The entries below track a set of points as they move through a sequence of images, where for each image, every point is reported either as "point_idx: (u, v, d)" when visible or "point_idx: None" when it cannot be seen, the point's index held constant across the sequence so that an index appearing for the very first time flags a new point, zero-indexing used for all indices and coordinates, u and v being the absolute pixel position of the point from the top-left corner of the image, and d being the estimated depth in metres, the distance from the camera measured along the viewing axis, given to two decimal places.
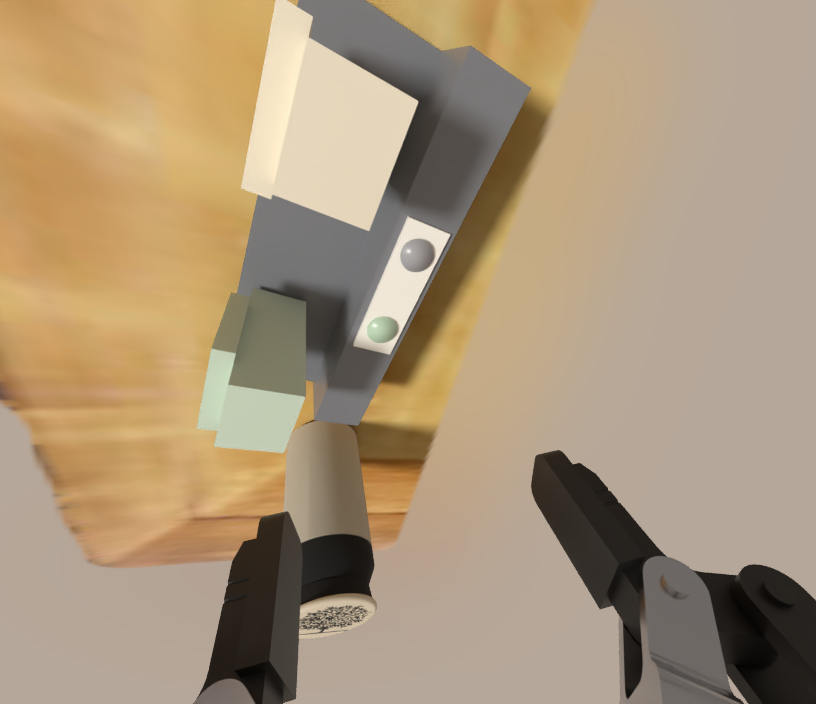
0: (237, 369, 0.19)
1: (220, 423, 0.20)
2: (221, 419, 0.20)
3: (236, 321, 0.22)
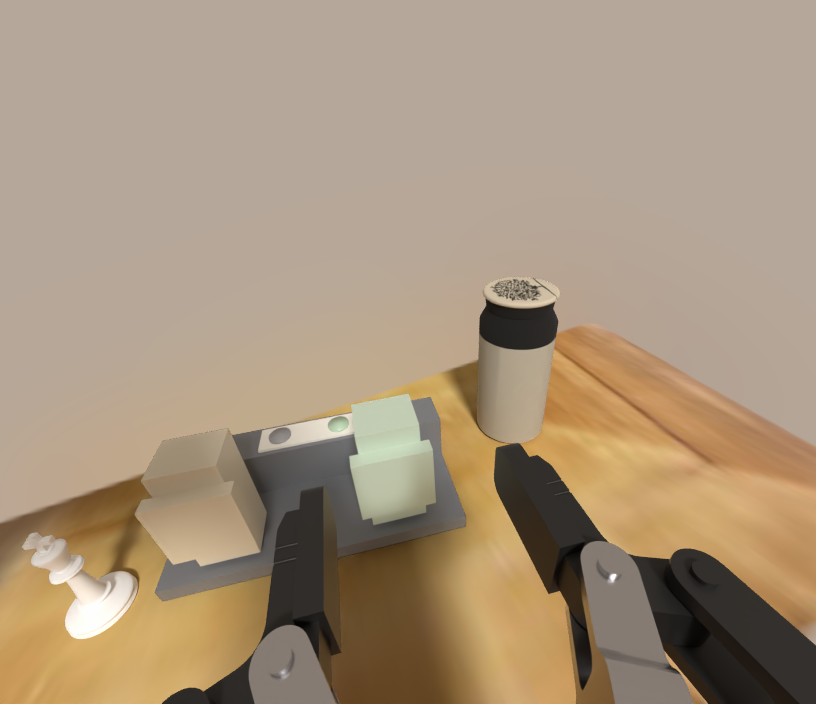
0: (357, 447, 0.28)
1: (393, 429, 0.27)
2: (388, 429, 0.27)
3: None
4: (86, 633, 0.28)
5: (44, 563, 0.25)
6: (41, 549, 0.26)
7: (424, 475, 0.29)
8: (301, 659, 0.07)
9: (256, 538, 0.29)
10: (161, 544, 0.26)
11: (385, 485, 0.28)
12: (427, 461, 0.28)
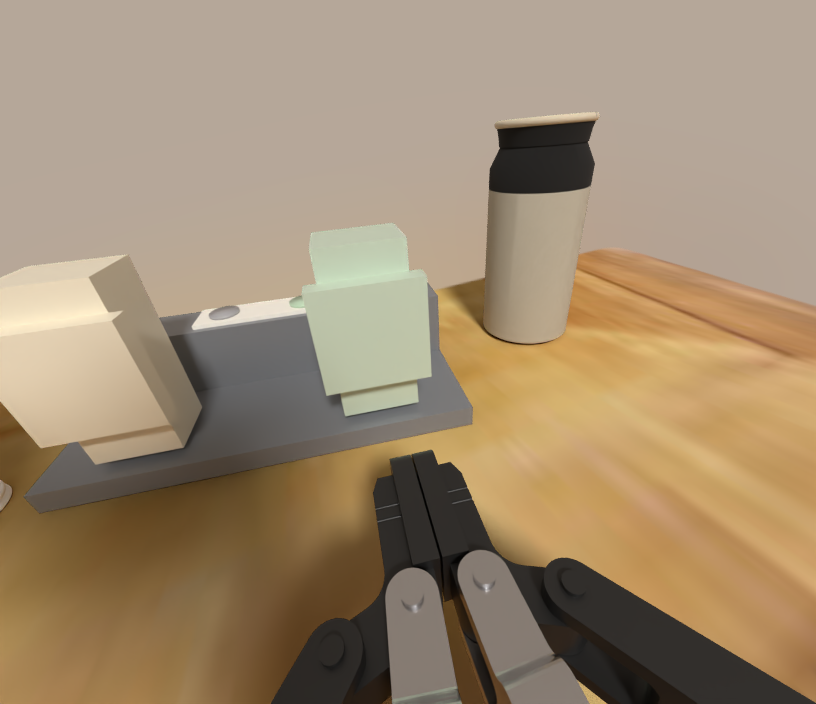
0: (314, 273, 0.19)
1: (367, 241, 0.18)
2: (361, 242, 0.18)
3: None
4: None
5: None
6: None
7: (415, 322, 0.20)
8: (432, 596, 0.08)
9: (169, 415, 0.20)
10: (13, 408, 0.17)
11: (357, 335, 0.19)
12: (419, 297, 0.19)
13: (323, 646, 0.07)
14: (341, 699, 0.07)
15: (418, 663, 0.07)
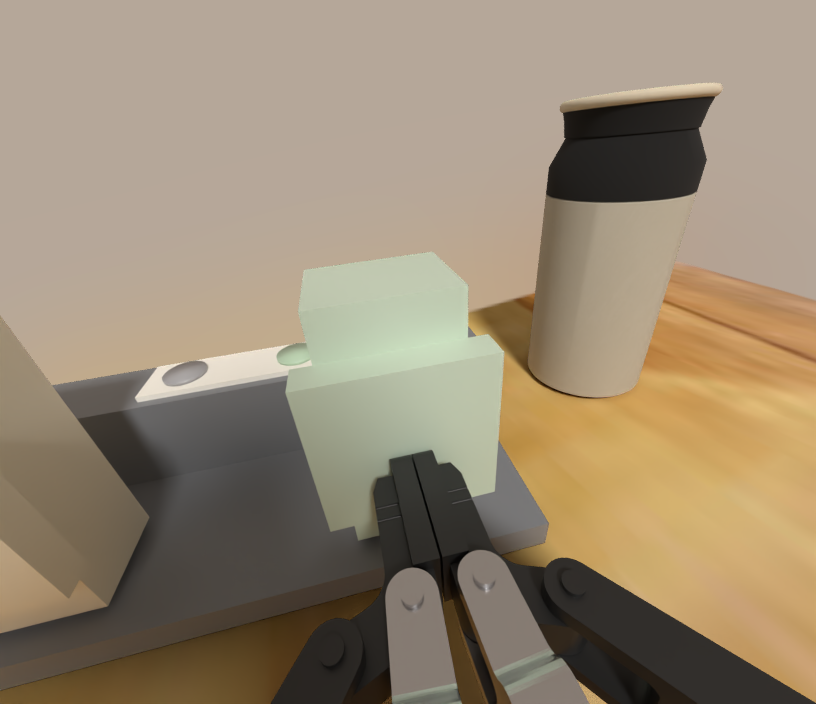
0: (308, 347, 0.11)
1: (401, 294, 0.10)
2: (390, 296, 0.10)
3: None
4: None
5: None
6: None
7: (476, 422, 0.12)
8: (432, 596, 0.08)
9: (68, 582, 0.12)
10: None
11: (382, 447, 0.11)
12: (487, 384, 0.11)
13: (323, 646, 0.07)
14: (341, 699, 0.07)
15: (418, 663, 0.07)
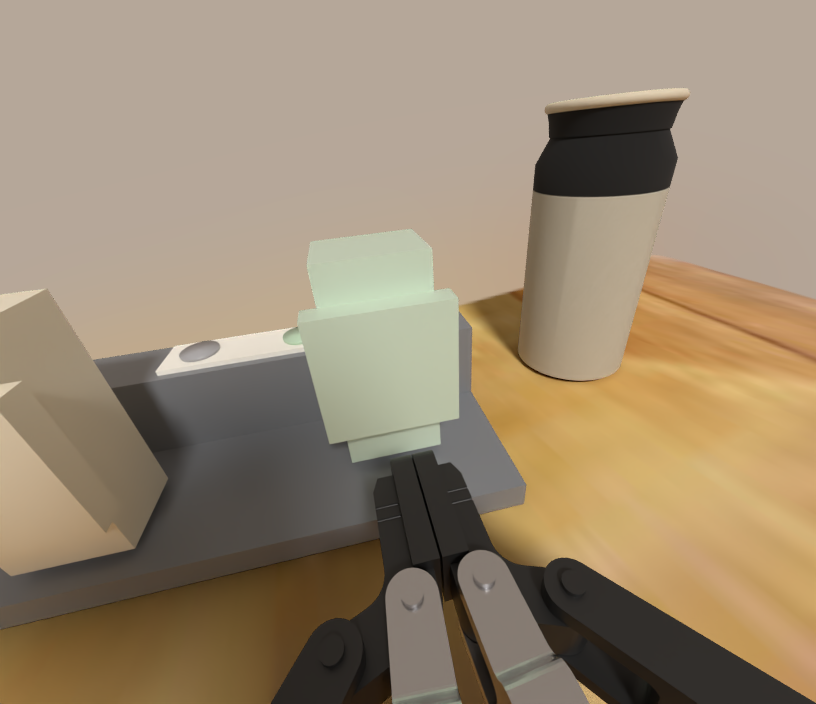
0: (314, 294, 0.15)
1: (382, 254, 0.14)
2: (374, 255, 0.14)
3: None
4: None
5: None
6: None
7: (441, 355, 0.15)
8: (432, 595, 0.08)
9: (105, 519, 0.14)
10: None
11: (368, 372, 0.15)
12: (447, 324, 0.15)
13: (323, 646, 0.07)
14: (341, 699, 0.07)
15: (418, 663, 0.07)
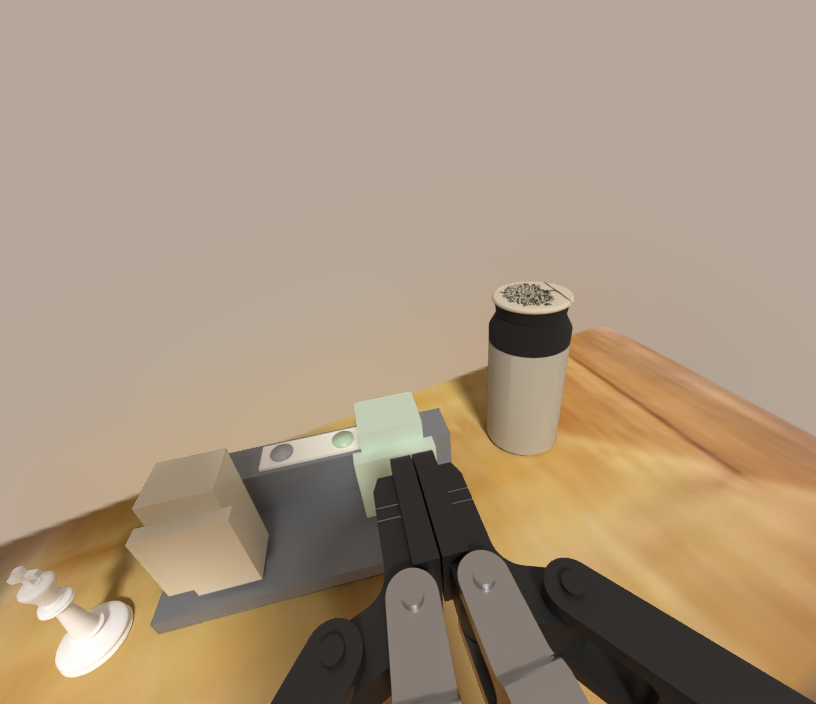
0: (360, 444, 0.28)
1: (395, 425, 0.27)
2: (391, 426, 0.27)
3: None
4: (78, 671, 0.26)
5: (30, 599, 0.24)
6: (27, 583, 0.24)
7: None
8: (432, 595, 0.08)
9: (257, 566, 0.27)
10: (155, 575, 0.25)
11: None
12: None
13: (323, 646, 0.07)
14: (341, 699, 0.07)
15: (418, 663, 0.07)
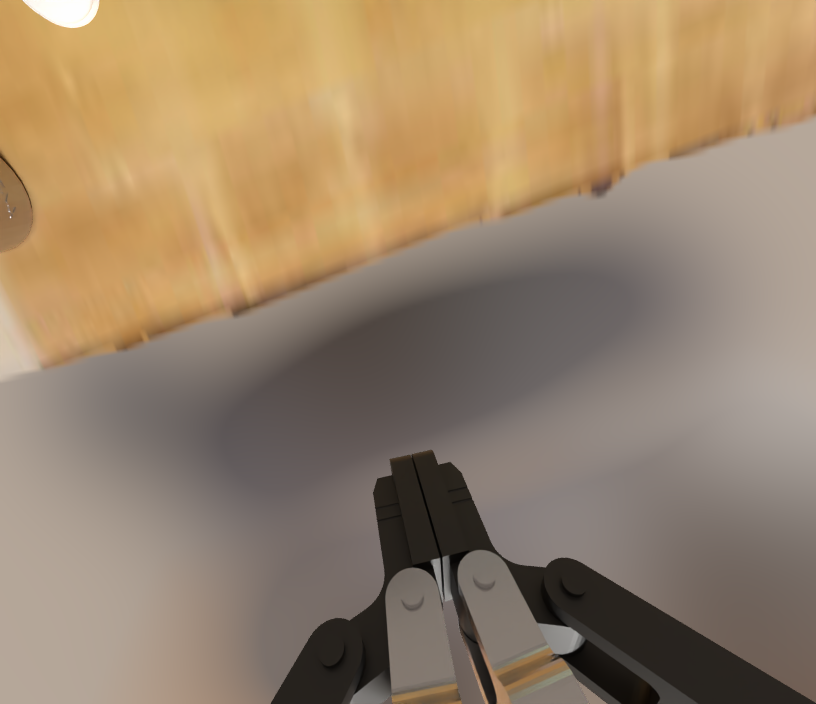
0: None
1: None
2: None
3: None
4: (72, 23, 0.23)
5: None
6: None
7: None
8: (432, 595, 0.08)
9: None
10: None
11: None
12: None
13: (323, 646, 0.07)
14: (341, 699, 0.07)
15: (418, 663, 0.07)
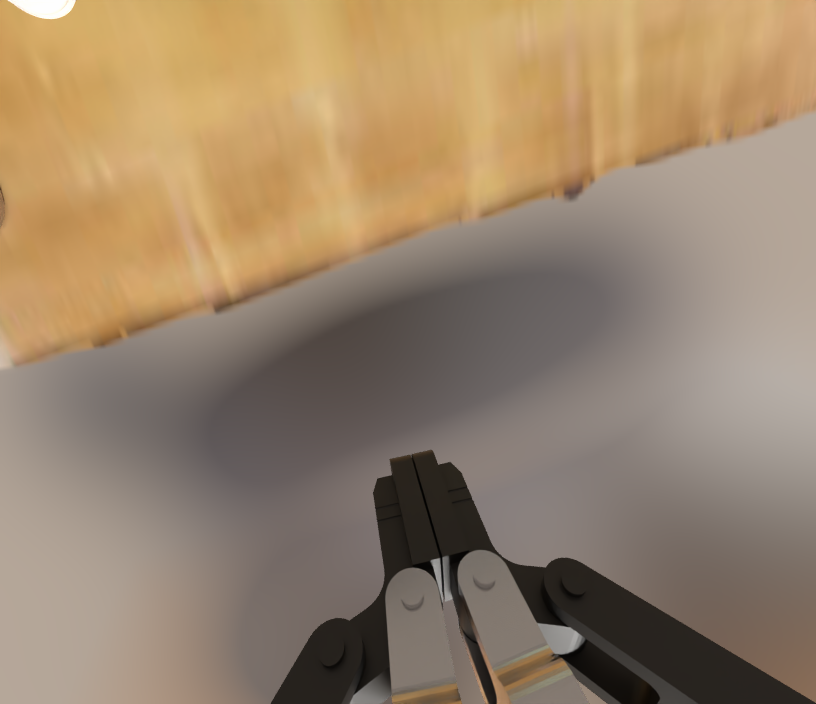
0: None
1: None
2: None
3: None
4: (48, 14, 0.23)
5: None
6: None
7: None
8: (432, 596, 0.08)
9: None
10: None
11: None
12: None
13: (323, 646, 0.07)
14: (341, 699, 0.07)
15: (418, 663, 0.07)
